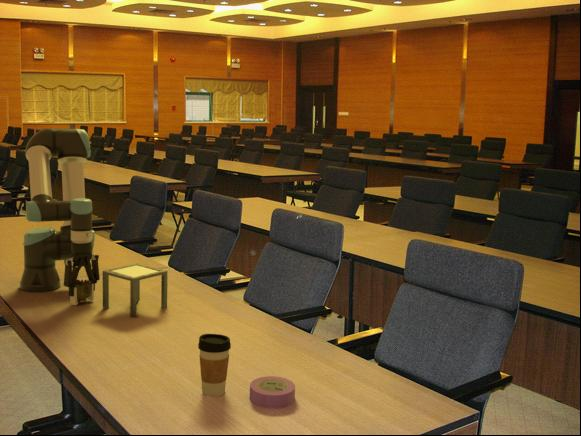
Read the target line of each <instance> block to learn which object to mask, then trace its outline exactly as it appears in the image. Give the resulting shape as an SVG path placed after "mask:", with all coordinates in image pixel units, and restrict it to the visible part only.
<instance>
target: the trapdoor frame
mask: <svg viewBox="0 0 581 436" xmlns="http://www.w3.org/2000/svg"><path fill="white" fill-rule="evenodd" d="M136 265H137V266H141V267H145V268H148V269H152V270H156V271H158V272H154V273H150V274H146V275H141V276H137V277H131V276H127V275H123V274H119V273H115V272H111V271H113V270H117V269H122V268H127V267H131V266H136ZM158 276H161V279H160V281H161V293H160V294H161V297H160V299H161V302H160V303H161V305H160V306H161V307H160V308H161V309H163V310H164V309H167V308H168V270H167V269H166V270H165V269H161V268H157V267H155V266H154V267H153V266H149V265H145V264H141V263H133V264H128V265H124V266H119V267H118V266H117V267H114V268H110V269H106V270H105V269H104V270H102V309H103V310H108V309H110V305H109V302H110V297H109V292H110V290H109V289H110V285H109V284H110V282H109V281H110V280H109V278H110V277H115V278H118V279H122V280H124V281H125V280H126V281H129V282H130V289H129V292H130V293H129V294H130V295H129V296H130V300H129V302H130V303H129V304H130V305H129V307H130V310H129V318H133V319H134V318H137V316H138V315H137V309H138V308H137V307H138V306H137V301H140V295H141V294H140V291H141V287H140V285H141V283H140V282H141V281H142V280H146V279H150V278H154V277H158Z"/></svg>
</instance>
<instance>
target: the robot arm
mask: <svg viewBox="0 0 581 436" xmlns="http://www.w3.org/2000/svg"><path fill="white" fill-rule="evenodd" d="M91 153H92V152H91V142H90V138H89V135H88V132H87V130H85V129H81V128H52V127H50V128H49V127H47V128H43V129H41V130H38V131H37V132H35V133H34V134H33V135H32V136H31V137H30V138H29V139H28V142H27V143H26V146H25V158H26V160H27V161H28V170H29V185H30V186H29V187H30V190H29V191H30V201H26V203H25V213H26V215H25V216H26V220H27V221H28V222H35V223H43V222H63V223H62V225H60V227H59V231H58V230H57V231H56V229H55V227H47V226H45V227H39V228H35V229H30V230H28V231H26V232H25V233H24V234H23V235H24V236H23V244H22V246H23V265H24V268H23V272H22V275H21V279H20V281H19V289H20V290H22V291H26V292H32V293H34V292H35V293H37V292H48V291H53V290H56V289H59V288H60V287H61V278H60V275H59V273H58V271H57V268H56V267H57V266H56V262H57V261H63V262H64V276H63V286H64V287H66V288H68V297H70V299H69V301H70V305H73V306H77V305H78V303H77V288H76V287H75V284H76V280H78V278H79V277H78V276H79V273H80V271H81V269H82V268H83V267H84V270H85V272H86V276H87V278H88V279H87V280H89V282H90V280H91V281H92V288H91V294H90V296H89V297H88V298H87V301H90V302H94V299H95V298H94V297H95V293H94V292H95V291H96V284H97V283H98V281H100V277H101V275H100V268H99V257H100V255H98V254H96V253H93V252H94V247H95V233H96V232H95V230H93V208H94V207H93V201H92V199H90V198H86V192H85V191H86V190H85V188H86V187H85V171H84V170H85V167H84V166H85V164H86V163H87V162H88V158H90V157H91ZM51 158H57V163H58V164H59V165H61V178H62V179H61V181H62V182H61V183H62V200H53V192H52V191H53V190H52V180H51V179H52V178H51V177H52V176H51V169H50V167H51V166H50V160H51Z"/></svg>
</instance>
